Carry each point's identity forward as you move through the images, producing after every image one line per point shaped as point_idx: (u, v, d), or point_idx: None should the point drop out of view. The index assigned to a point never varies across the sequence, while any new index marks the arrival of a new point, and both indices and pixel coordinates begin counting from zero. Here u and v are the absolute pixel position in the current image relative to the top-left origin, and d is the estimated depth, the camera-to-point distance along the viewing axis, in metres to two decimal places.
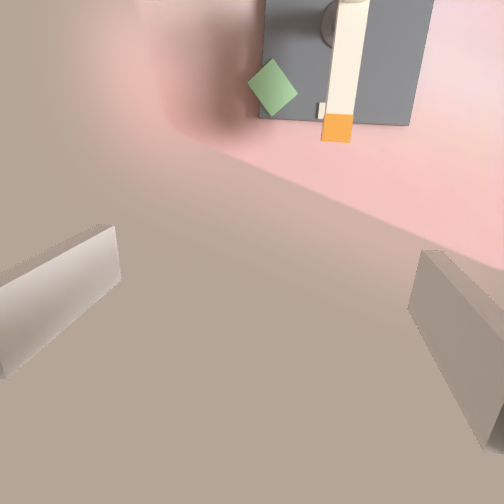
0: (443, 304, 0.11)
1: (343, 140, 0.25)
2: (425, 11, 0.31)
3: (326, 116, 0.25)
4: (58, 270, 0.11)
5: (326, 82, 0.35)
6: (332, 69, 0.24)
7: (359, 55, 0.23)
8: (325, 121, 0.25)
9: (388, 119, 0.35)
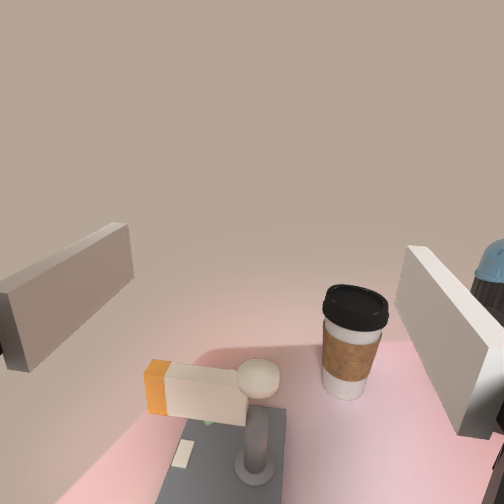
0: (425, 296, 0.11)
1: (147, 370, 0.32)
2: None
3: (169, 362, 0.33)
4: (77, 267, 0.12)
5: (210, 449, 0.37)
6: (199, 366, 0.33)
7: (203, 380, 0.31)
8: (165, 361, 0.33)
9: None
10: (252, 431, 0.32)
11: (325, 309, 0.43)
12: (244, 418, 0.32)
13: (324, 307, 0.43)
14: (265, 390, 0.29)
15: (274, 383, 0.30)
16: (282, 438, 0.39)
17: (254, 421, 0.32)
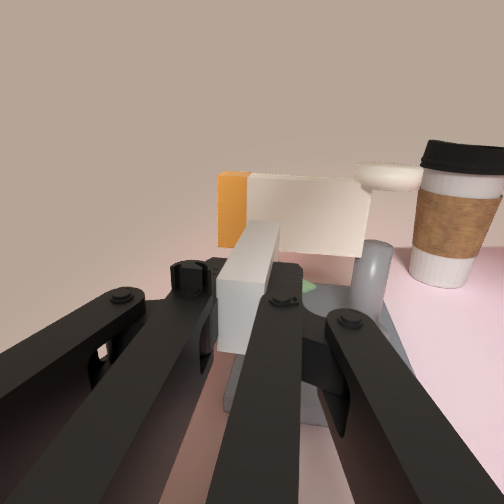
0: None
1: (221, 174, 0.22)
2: None
3: (248, 172, 0.23)
4: None
5: None
6: (293, 175, 0.23)
7: (307, 180, 0.21)
8: (243, 172, 0.24)
9: (238, 372, 0.22)
10: (372, 263, 0.22)
11: (429, 160, 0.33)
12: (362, 243, 0.22)
13: (428, 158, 0.33)
14: (410, 175, 0.19)
15: (421, 170, 0.20)
16: (385, 311, 0.29)
17: (375, 249, 0.22)
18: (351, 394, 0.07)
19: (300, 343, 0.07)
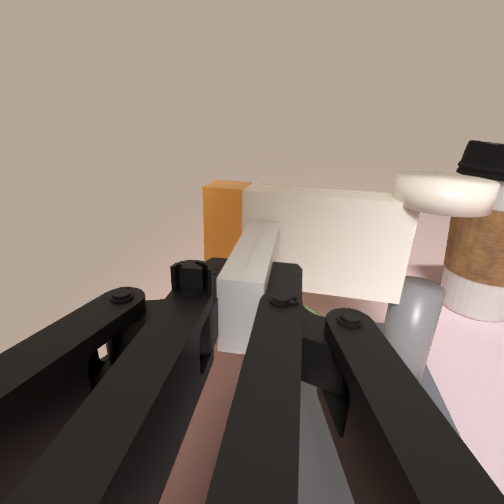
0: None
1: (208, 185, 0.17)
2: None
3: (247, 182, 0.18)
4: None
5: None
6: (307, 187, 0.17)
7: (325, 196, 0.15)
8: (241, 182, 0.18)
9: None
10: (414, 313, 0.16)
11: (472, 165, 0.27)
12: (401, 284, 0.16)
13: (470, 164, 0.27)
14: (481, 194, 0.13)
15: (496, 185, 0.13)
16: None
17: (420, 294, 0.16)
18: (351, 394, 0.07)
19: (300, 343, 0.07)
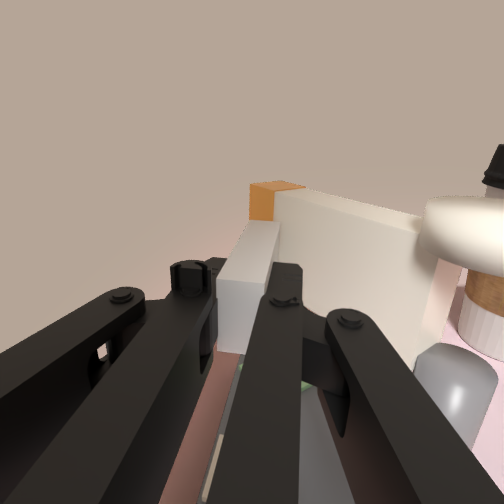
0: None
1: (258, 183, 0.17)
2: None
3: (301, 186, 0.17)
4: None
5: None
6: (350, 199, 0.15)
7: (339, 210, 0.13)
8: (296, 185, 0.17)
9: None
10: None
11: None
12: (412, 346, 0.11)
13: (501, 174, 0.22)
14: None
15: None
16: None
17: (441, 372, 0.11)
18: (351, 394, 0.07)
19: (300, 343, 0.07)
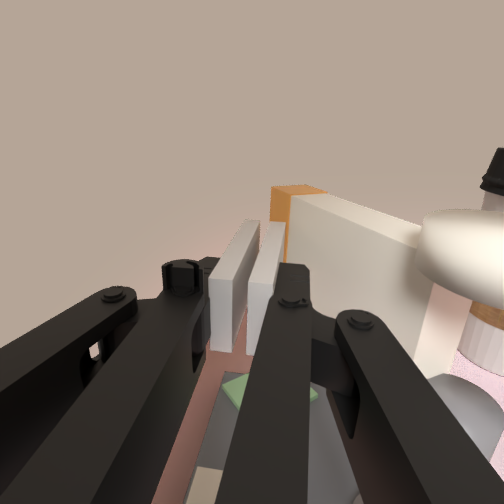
0: None
1: (280, 186, 0.17)
2: None
3: (323, 191, 0.16)
4: (247, 259, 0.13)
5: None
6: (366, 207, 0.14)
7: (346, 217, 0.12)
8: (319, 190, 0.17)
9: None
10: None
11: None
12: None
13: (501, 179, 0.20)
14: (501, 265, 0.07)
15: None
16: None
17: None
18: (361, 395, 0.07)
19: (309, 345, 0.07)
